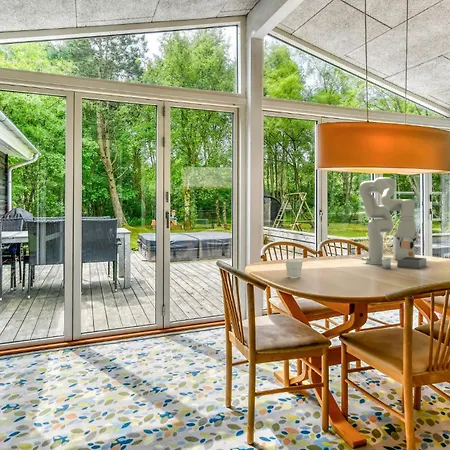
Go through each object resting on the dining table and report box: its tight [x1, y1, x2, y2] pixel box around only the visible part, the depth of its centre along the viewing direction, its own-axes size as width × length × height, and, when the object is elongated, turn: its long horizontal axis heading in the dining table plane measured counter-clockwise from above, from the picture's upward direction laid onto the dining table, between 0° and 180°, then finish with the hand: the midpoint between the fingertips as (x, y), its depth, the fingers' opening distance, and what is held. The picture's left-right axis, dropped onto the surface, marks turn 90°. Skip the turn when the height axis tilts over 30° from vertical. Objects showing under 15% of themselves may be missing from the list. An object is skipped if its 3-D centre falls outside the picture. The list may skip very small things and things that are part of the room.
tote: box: [396, 256, 427, 270], centre depth 256 cm, size 18×14×5 cm
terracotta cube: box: [401, 240, 411, 249], centre depth 236 cm, size 5×5×5 cm
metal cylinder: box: [381, 257, 392, 270], centre depth 247 cm, size 5×5×7 cm
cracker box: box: [392, 231, 416, 261], centre depth 285 cm, size 14×6×21 cm, turn 84°
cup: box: [284, 258, 303, 277], centre depth 221 cm, size 10×10×10 cm
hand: (406, 247), depth 236 cm, fingers closed on terracotta cube, 5 cm apart
